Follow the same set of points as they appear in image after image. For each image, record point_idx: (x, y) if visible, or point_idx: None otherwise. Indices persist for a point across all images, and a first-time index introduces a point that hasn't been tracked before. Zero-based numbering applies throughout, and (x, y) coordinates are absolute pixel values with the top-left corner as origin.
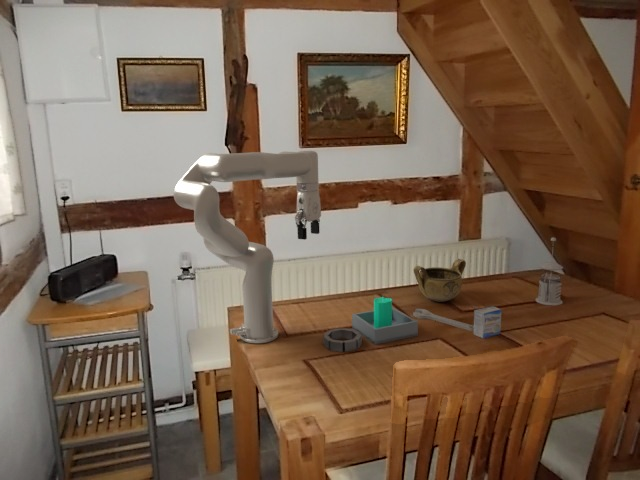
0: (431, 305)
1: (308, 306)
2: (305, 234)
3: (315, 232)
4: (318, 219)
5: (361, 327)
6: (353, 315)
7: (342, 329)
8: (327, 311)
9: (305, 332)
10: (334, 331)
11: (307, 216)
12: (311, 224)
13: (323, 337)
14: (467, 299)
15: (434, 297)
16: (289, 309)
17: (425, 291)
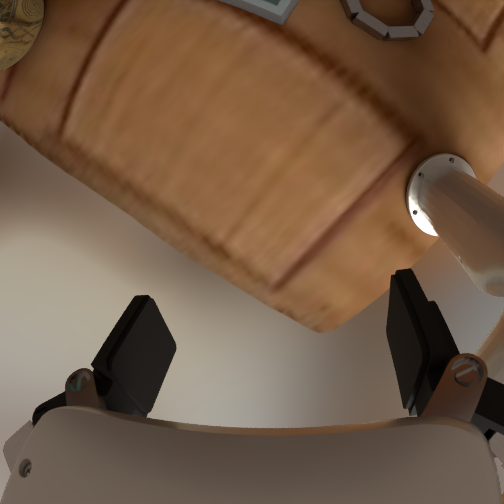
0: (58, 8)
1: (221, 211)
2: (424, 300)
3: (158, 322)
4: (80, 395)
5: None
6: (285, 9)
7: (360, 8)
8: (220, 148)
9: (378, 110)
10: (381, 22)
11: (499, 492)
12: (151, 399)
13: (421, 34)
14: None
15: (43, 6)
16: (267, 238)
17: (36, 21)
